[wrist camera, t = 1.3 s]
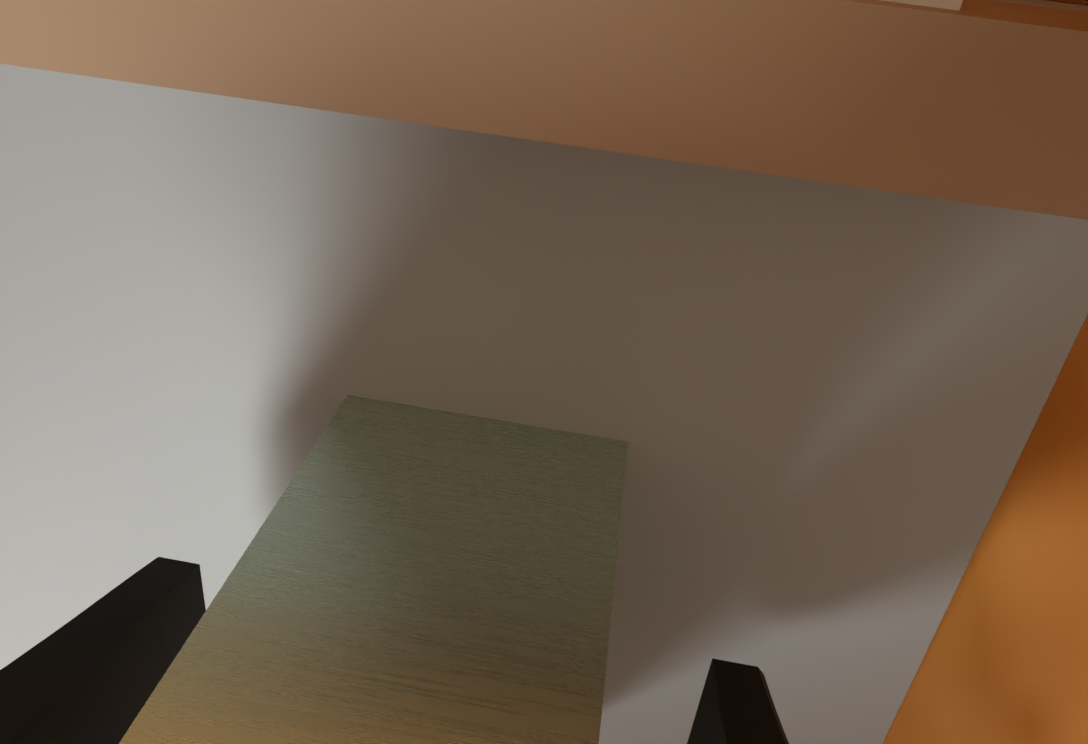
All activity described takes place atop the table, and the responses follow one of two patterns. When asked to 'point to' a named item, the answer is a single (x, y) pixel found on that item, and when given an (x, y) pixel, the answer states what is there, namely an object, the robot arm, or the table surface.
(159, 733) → the sage tin
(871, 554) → the shelf
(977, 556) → the table surface
